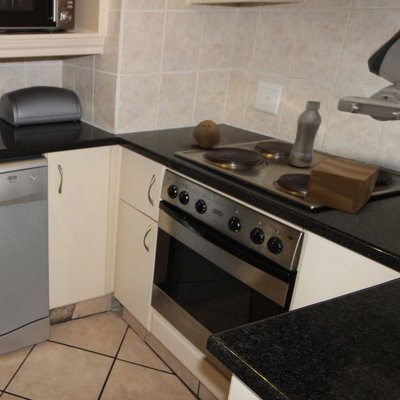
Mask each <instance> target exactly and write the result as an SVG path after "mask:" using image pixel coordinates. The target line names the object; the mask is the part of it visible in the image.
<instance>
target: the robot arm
mask: <svg viewBox="0 0 400 400" xmlns="http://www.w3.org/2000/svg"><path fill="white" fill-rule="evenodd" d="M367 67H368V70H369V72H370V74H371V73H372V74H374V75H375V76H378V77H380V78H383V79H384V80H386V81H388V82H389V83H391V84H389V85H387V86H384V87H382V88H381V89H380V90H377V91H376V92H374V93H373V94H372V95H371V96H369V97H366V96H360V95H359V96H358V95H345V96H342V97H340V98H339V100H338V103H337V107H336V109H337V110H338V111H340V112H345V113H350V114H355V115H357V114H358V115H364V116H369V117H371V118H372V119H373V120H375V121H379V122H388V121H389V122H394V121H400V29H399V30H398V31H397V32H396V33H395V34H394V35H393V36H392V37H391V38H389V39H388V40H386V41H385V42H383V43H382V44H380V45H379V46H377V48H375V49H374V50H373V52H372V53H371V54H370V55H369V57H368V59H367Z"/></svg>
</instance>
